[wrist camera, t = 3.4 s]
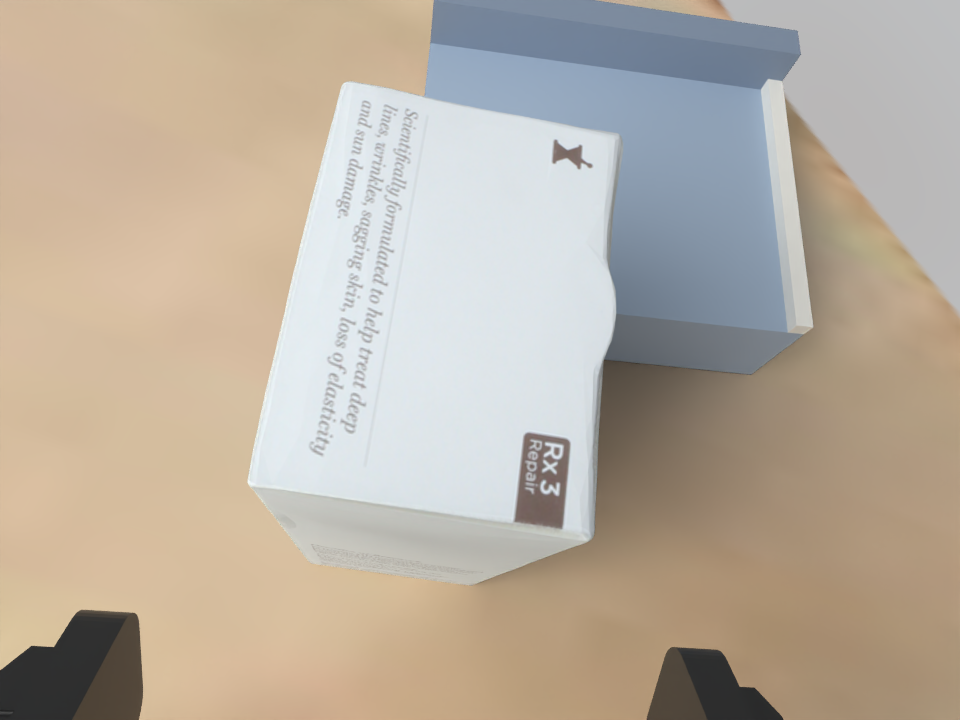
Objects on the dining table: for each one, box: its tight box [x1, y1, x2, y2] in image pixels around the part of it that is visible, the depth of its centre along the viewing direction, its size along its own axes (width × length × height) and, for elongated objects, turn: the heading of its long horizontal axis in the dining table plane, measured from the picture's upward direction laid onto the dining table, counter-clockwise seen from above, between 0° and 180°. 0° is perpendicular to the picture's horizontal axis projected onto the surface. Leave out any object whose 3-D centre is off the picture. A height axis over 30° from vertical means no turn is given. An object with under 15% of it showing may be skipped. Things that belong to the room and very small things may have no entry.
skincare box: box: [248, 82, 623, 585], centre depth 20 cm, size 8×6×15 cm
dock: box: [425, 0, 813, 375], centre depth 28 cm, size 14×12×6 cm
